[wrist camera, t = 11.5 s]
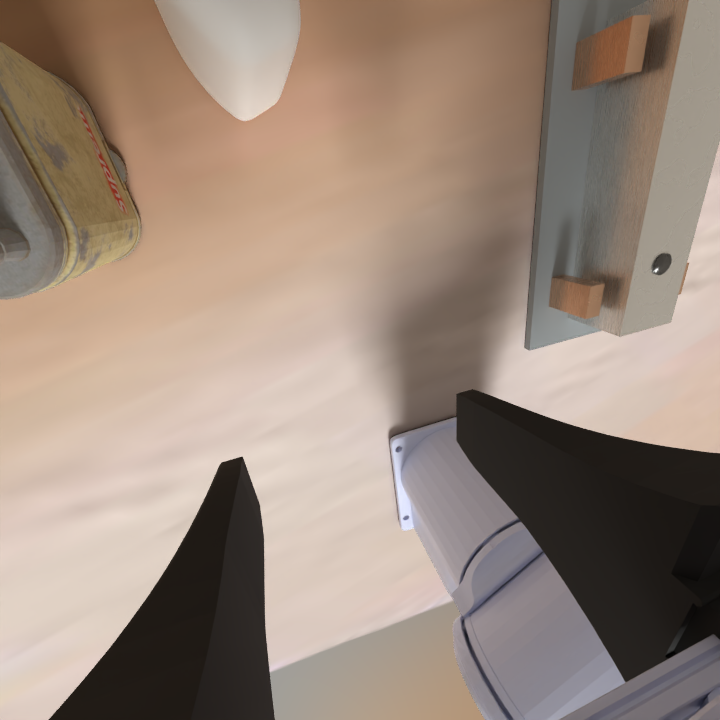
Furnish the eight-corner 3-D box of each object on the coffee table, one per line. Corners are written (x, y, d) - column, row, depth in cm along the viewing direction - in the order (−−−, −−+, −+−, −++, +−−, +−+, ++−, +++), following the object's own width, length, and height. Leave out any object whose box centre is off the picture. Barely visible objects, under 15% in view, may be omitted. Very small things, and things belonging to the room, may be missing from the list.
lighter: (-31, 77, 13) (-603, -181, 4) (80, 61, 14) (-212, -191, 5) (76, 269, 16) (-121, 349, 7) (162, 249, 17) (74, 301, 8)
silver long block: (606, 21, 18) (696, -24, 14) (667, 17, 19) (767, -26, 15) (567, 317, 25) (621, 337, 21) (613, 305, 26) (672, 322, 22)
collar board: (634, 317, 28) (682, 332, 25) (524, 347, 26) (562, 367, 23) (712, -36, 19) (802, -82, 16) (554, -33, 17) (622, -85, 14)
